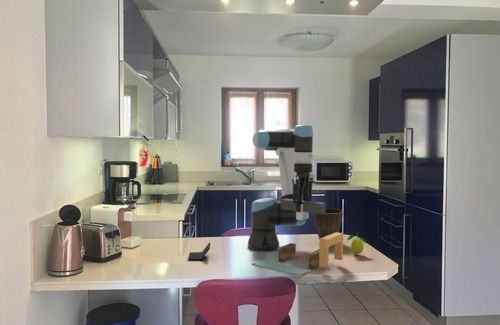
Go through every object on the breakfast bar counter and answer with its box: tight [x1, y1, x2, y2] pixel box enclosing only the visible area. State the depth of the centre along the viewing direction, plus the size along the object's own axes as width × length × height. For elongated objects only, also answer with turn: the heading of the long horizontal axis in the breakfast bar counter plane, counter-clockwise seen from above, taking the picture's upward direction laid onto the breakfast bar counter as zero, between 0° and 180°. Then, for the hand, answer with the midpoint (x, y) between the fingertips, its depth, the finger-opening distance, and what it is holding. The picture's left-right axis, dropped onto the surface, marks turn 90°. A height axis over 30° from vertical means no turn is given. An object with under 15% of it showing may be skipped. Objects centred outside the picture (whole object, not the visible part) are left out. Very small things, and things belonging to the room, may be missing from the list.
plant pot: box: [312, 208, 344, 240], centre depth 203 cm, size 15×15×16 cm
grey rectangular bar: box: [281, 199, 327, 214], centre depth 166 cm, size 19×4×4 cm, turn 52°
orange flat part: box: [318, 232, 344, 269], centre depth 159 cm, size 3×14×11 cm, turn 142°
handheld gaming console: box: [187, 242, 211, 262], centre depth 175 cm, size 12×7×10 cm
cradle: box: [277, 242, 320, 270], centre depth 167 cm, size 17×10×6 cm, turn 52°
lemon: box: [347, 232, 367, 256], centre depth 180 cm, size 7×6×10 cm
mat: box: [251, 259, 311, 277], centre depth 160 cm, size 23×7×1 cm, turn 52°
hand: (302, 218), depth 167 cm, fingers closed on grey rectangular bar, 4 cm apart
